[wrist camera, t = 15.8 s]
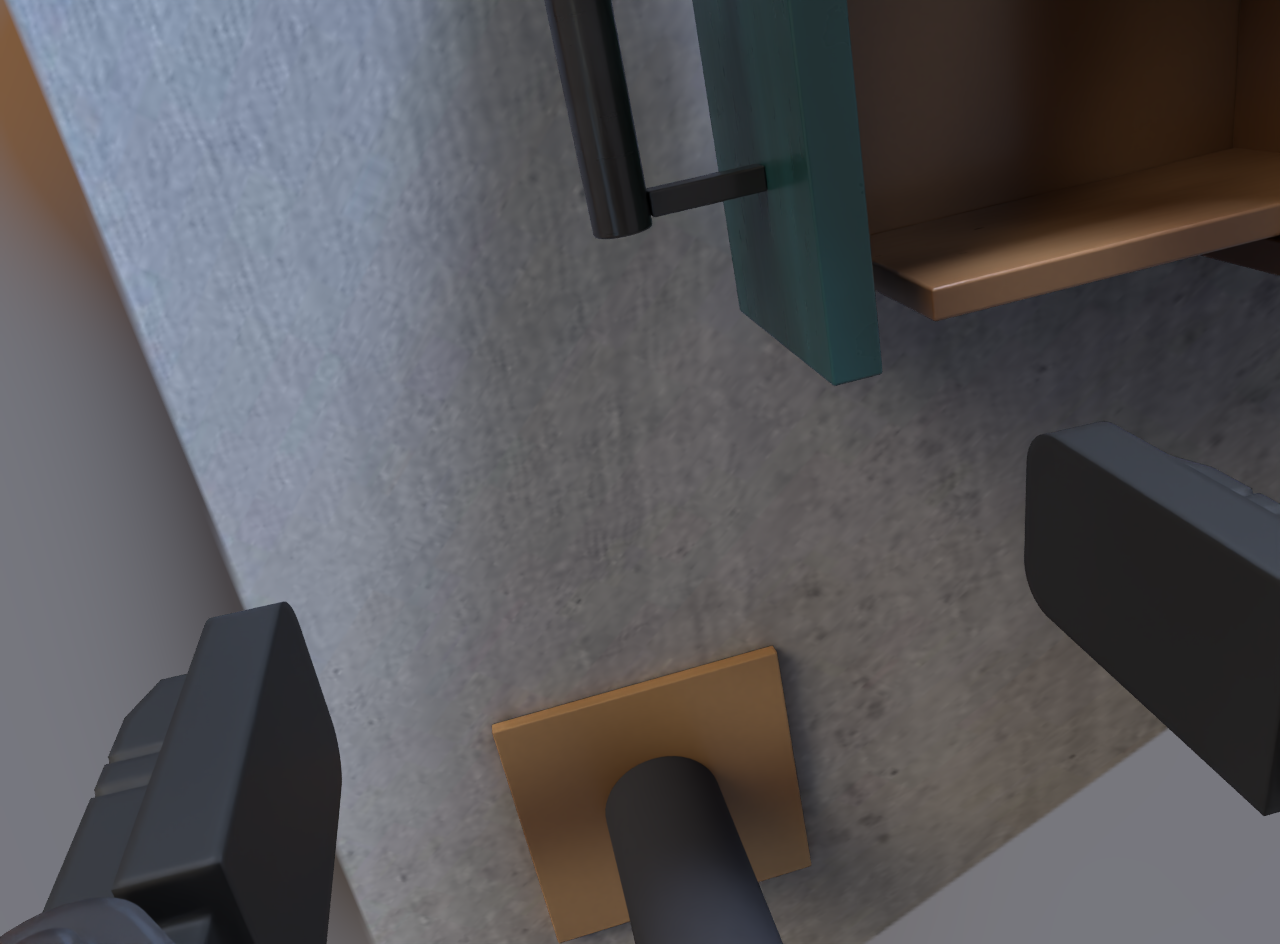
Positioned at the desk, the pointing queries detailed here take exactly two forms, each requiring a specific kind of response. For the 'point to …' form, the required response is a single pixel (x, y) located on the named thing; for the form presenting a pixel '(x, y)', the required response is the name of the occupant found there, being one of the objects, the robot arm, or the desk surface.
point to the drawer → (945, 149)
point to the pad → (637, 732)
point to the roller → (683, 859)
